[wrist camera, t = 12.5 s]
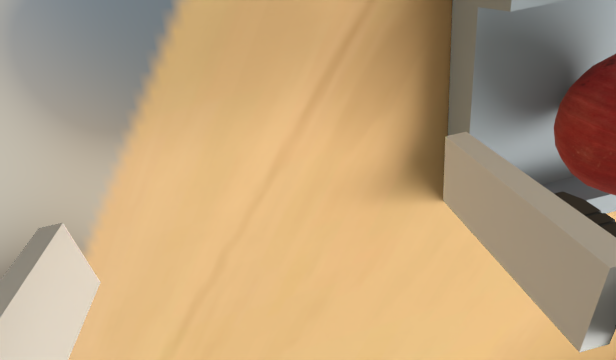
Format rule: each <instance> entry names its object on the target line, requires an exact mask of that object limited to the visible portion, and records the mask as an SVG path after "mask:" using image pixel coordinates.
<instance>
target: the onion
mask: <svg viewBox="0 0 616 360" xmlns="http://www.w3.org/2000/svg"><path fill="white" fill-rule="evenodd" d="M554 137H555V146H556V148H557V150H558V153H559V155H560V157H561V159H562V160H563V162H564V163H565V165H566V166H567V168H568V169H569V171H570V172H571V173H572V174H573V175H574V176H575V177H577V178H578V179H579V180H581V181H582V182H583V183H584V184H586V185H587V186H590V187H593V188H595V189H598V190H600V191H603V192H606V193H609V194H612V195H616V54H614V55H612V56H610V57H608V58H607V59H605V60H603V61H601V62H599V63H597V64H595V65H593V66H592V67H591V68H590V69H588V70H587V71H586V72H585V73H584V74H583V75H582V76H581V77H580V78H579V79H578V80H577V81H576V82H575V83H574V84H573V85H572V86H571V87H570V88H569V89H568V91H567V93H566V94H565V96H564V98H563V99H562V101H561V103H560V105H559V109H558V112H557V115H556V118H555V123H554Z"/></svg>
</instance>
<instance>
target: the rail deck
mask: <svg viewBox="0 0 616 360" xmlns="http://www.w3.org/2000/svg"><path fill="white" fill-rule="evenodd" d="M614 54H616V0H453V2H452V30H451V58H450V86H449V114H448V136H449V135H454V134H458V133H462V132H467V133H469V134H470V135H472V136H473V137H474V138H476V139H477V140H479V141H480V142H482V143H483V144H484V145H486V146H487V147H489V148H490V149H491V150H493V151H494V152H496V153H497V154H498V155H500V156H501V157H503V158H504V159H506V160H507V161H508V162H510V163H511V164H513V165H514V166H515V167H517V168H518V169H520V170H521V171H522V172H524V173H525V174H527V175H528V176H530V177H531V178H532V179H534V180H535V181H537V182H538V183H539V184H541V185H542V186H544V187H545V188H546V189H548V190H549V191H551V192H552V193H558V192H562V191H563V192H566V193H568V194H571V195H574V196H576V197H579V198H582V199H584V200H586V201H587V202H589V203H590V204H592V205H593V206H595V207H596V208H598V209H599V210H601V213H605V214H606V213H610V212H614V211H616V195H612V194H609V193H606V192H603V191H600V190H598V189H595V188H593V187H590V186H587V185H586V184H584V183H583V182H582V181H581V180H579V179H578V178H577V177H575V176H574V175H573V174H572V173H571V172H570V171H569V169H568V168H567V166H566V165H565V163H564V162H563V160H562V159H561V157H560V155H559V153H558V150H557V148H556V146H555V137H554V123H555V118H556V115H557V112H558V109H559V105H560V103H561V101H562V99H563V98H564V96H565V94H566V93H567V91H568V89H569V88H570V87H571V86H572V85H573V84H574V83H575V82H576V81H577V80H578V79H579V78H580V77H581V76H582V75H583V74H584V73H585V72H586V71H587V70H588V69H590V68H591V67H592V66H593V65H595V64H597V63H599V62H601V61H603V60H605V59H607V58H608V57H610V56H612V55H614Z"/></svg>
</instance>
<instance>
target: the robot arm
mask: <svg viewBox="0 0 616 360" xmlns="http://www.w3.org/2000/svg"><path fill="white" fill-rule="evenodd" d="M443 201H444V202H445V203H446V204H447V206H448V207H449V208H450V209H451V210H452V211H453V212H454V213H455V214H456V216H457V217H458V218H459V219H460V220H461V221H462V222H463V223H464V224H465V226H466V227H467V228H468V229H469V230H470V231H471V232H472V233H473V235H474V236H475V237H476V238H477V239H478V240H479V241H480V242H481V243H482V245H483V246H484V247H485V248H486V249H487V250H488V251H489V252H490V253H491V255H492V256H493V257H494V258H495V259H496V260H497V261H498V262H499V263H500V265H501V266H502V267H503V268H504V269H505V270H506V271H507V272H508V273H509V275H510V276H511V277H512V278H513V279H514V280H515V281H516V282H517V283H518V285H519V286H520V287H521V288H522V289H523V290H524V291H525V292H526V294H527V295H528V296H529V297H530V298H531V299H532V300H533V301H534V302H535V304H536V305H537V306H538V307H539V308H540V309H541V310H542V311H543V312H544V314H545V315H546V316H547V317H548V318H549V319H550V320H551V321H552V322H553V324H554V325H555V326H556V327H557V328H558V329H559V330H560V331H561V332H562V334H563V335H564V336H565V337H566V338H567V339H568V340H569V341H570V343H571V344H572V345H573V346H574V347H575V348H576V349H577V350H578V351H579V352H582V351H586V350H590V349H593V348H597V347H601V346H604V345H608V344H609V343H610V341H611V339H612V336H613V334H614V332H615V329H616V222H615V220H614V219H613V218H611V217H610V216H608V215H607V214H605V213H601V210H599V209H598V208H596V207H595V206H593V205H592V204H590V203H589V202H587V201H586V200H584V199H582V198H579V197H576V196H574V195H571V194H568V193H566V192H563V191H562V192H558V193H552V192H551V191H549V190H548V189H546V188H545V187H544V186H542V185H541V184H539V183H538V182H537V181H535V180H534V179H532V178H531V177H530V176H528V175H527V174H525V173H524V172H522V171H521V170H520V169H518V168H517V167H515V166H514V165H513V164H511V163H510V162H508V161H507V160H506V159H504V158H503V157H501V156H500V155H498V154H497V153H496V152H494V151H493V150H491V149H490V148H489V147H487V146H486V145H484V144H483V143H482V142H480V141H479V140H477V139H476V138H474V137H473V136H472V135H470V134H469V133H467V132H462V133H458V134H454V135H449V136H446V137H445V163H444V188H443ZM99 285H100V281H99V279H98V278H97V276H96V274H95V273H94V271H93V270H92V268H91V266H90V265H89V263H88V262H87V260H86V259H85V257H84V255H83V254H82V252H81V251H80V249H79V247H78V246H77V244H76V243H75V241H74V240H73V238H72V237H71V235H70V233H69V232H68V230H67V229H66V227H65V225H64V224H63V223H60V224H56V225H51V226H47V227H42V228H39V229H38V230H37V231H36V233H35V234H34V235H33V237H32V238H31V240H30V241H29V242H28V243H27V245H26V246H25V248H24V249H23V251H22V252H21V253H20V255H19V256H18V257H17V259H16V260H15V261H14V263H13V264H12V265H11V267H10V268H9V269H8V271H7V272H6V273H5V275H4V276H3V277H2V279H1V280H0V360H68V359H69V357H70V354H71V352H72V349H73V347H74V345H75V342H76V340H77V337H78V335H79V333H80V330H81V328H82V325H83V323H84V321H85V318H86V316H87V313H88V311H89V309H90V306H91V304H92V301H93V299H94V297H95V294H96V292H97V289H98V287H99Z"/></svg>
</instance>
